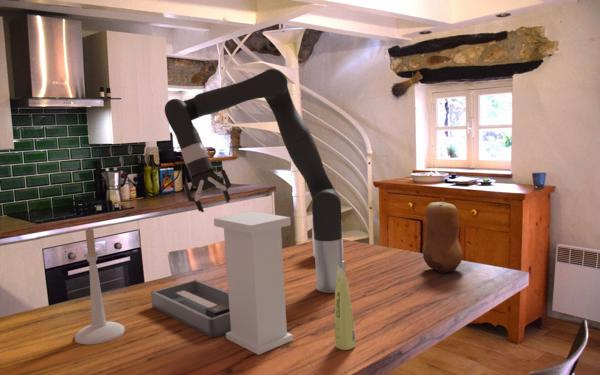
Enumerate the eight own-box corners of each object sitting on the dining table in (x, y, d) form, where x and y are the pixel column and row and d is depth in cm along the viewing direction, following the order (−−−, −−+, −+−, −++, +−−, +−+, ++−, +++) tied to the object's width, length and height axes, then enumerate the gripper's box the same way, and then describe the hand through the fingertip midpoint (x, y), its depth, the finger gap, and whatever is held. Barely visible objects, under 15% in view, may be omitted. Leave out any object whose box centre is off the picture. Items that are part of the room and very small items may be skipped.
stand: (222, 338, 132) (213, 218, 128) (258, 324, 140) (251, 211, 136) (259, 356, 120) (250, 225, 116) (296, 340, 128) (290, 217, 124)
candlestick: (112, 321, 148) (102, 221, 144) (132, 332, 138) (122, 226, 135) (67, 335, 139) (55, 229, 135) (86, 348, 130) (73, 235, 126)
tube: (329, 346, 123) (325, 269, 121) (341, 339, 127) (337, 264, 125) (348, 352, 120) (344, 273, 117) (359, 345, 124) (356, 268, 121)
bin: (152, 307, 158) (151, 291, 158) (197, 294, 169) (195, 279, 168) (211, 338, 132) (210, 320, 131) (260, 320, 143) (259, 303, 142)
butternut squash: (466, 268, 182) (466, 200, 179) (456, 278, 171) (455, 206, 168) (429, 264, 190) (428, 198, 187) (417, 273, 178) (415, 204, 175)
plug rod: (173, 302, 158) (172, 293, 158) (187, 298, 162) (186, 289, 161) (215, 323, 140) (214, 313, 139) (230, 318, 143) (230, 308, 142)
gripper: (175, 165, 154) (195, 215, 154) (219, 150, 158) (238, 198, 158) (175, 168, 161) (193, 215, 161) (216, 154, 165) (234, 199, 165)
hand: (215, 207), depth 160 cm, fingers open, 8 cm apart
